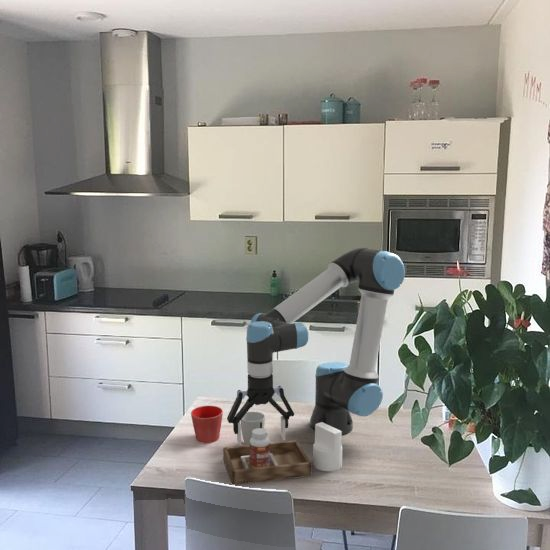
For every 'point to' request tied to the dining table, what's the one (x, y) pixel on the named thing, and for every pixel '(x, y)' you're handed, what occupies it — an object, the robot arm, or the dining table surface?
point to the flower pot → (207, 423)
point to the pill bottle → (259, 448)
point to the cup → (251, 424)
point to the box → (283, 465)
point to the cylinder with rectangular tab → (327, 448)
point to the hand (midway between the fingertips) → (261, 440)
